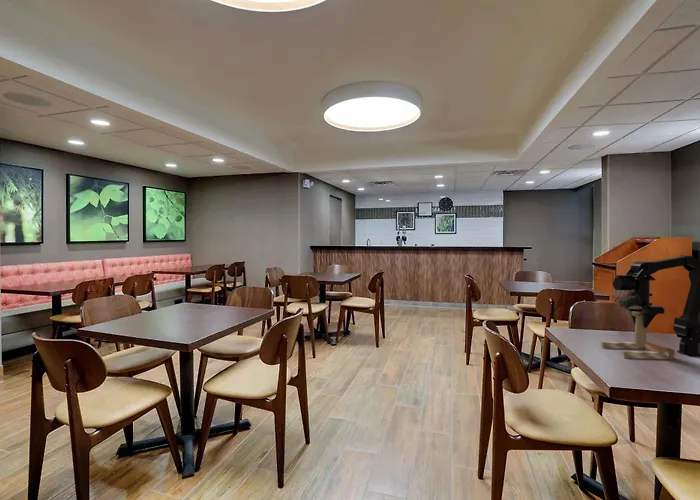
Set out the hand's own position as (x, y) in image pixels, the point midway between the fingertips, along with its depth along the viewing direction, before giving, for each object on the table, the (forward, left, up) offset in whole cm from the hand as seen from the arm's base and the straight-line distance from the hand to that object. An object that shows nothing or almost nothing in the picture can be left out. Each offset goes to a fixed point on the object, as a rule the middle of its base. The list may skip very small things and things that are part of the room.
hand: (640, 326), depth 159 cm
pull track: (+2, 0, -12) cm, 12 cm away
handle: (0, 0, -9) cm, 9 cm away
